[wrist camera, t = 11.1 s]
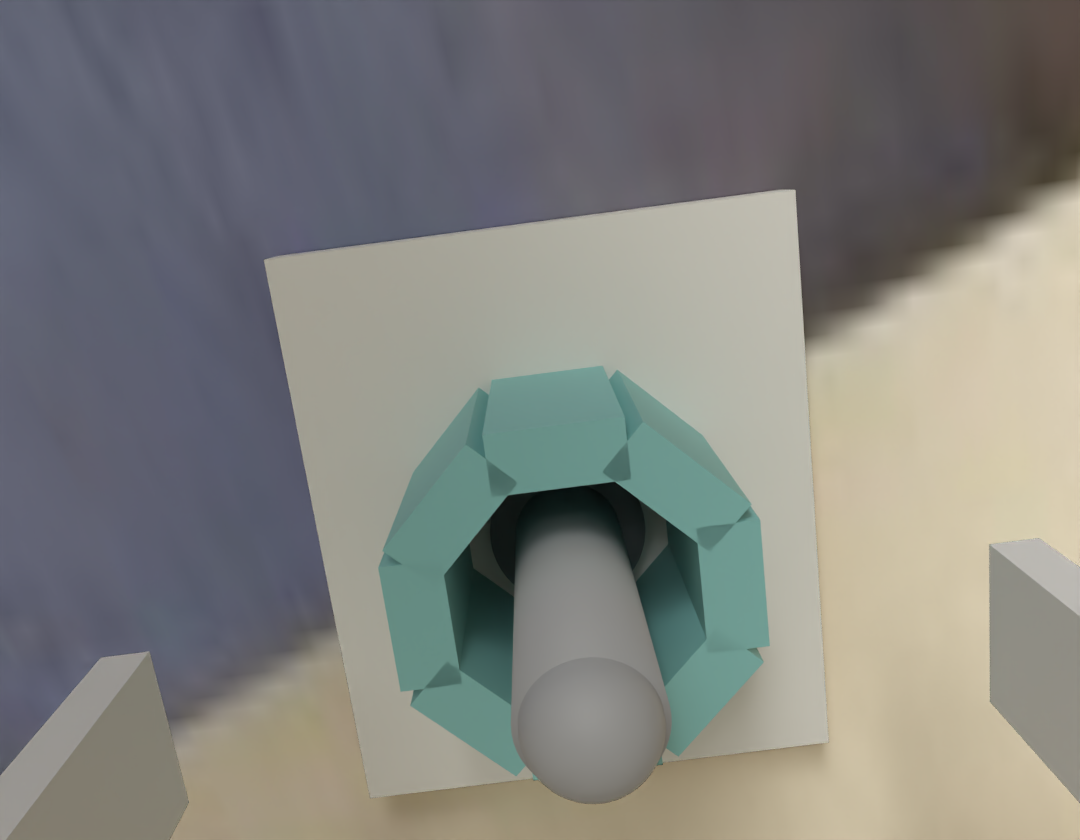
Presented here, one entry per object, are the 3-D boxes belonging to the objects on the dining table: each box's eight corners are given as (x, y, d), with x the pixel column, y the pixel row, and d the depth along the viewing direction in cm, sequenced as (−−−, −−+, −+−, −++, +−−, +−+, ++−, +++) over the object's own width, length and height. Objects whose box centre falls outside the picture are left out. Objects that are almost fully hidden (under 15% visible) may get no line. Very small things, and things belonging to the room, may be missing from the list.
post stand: (277, 256, 22) (39, 323, 11) (781, 189, 22) (1031, 192, 11) (377, 770, 26) (266, 1205, 15) (815, 717, 26) (1033, 1117, 15)
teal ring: (394, 392, 22) (356, 451, 17) (701, 353, 22) (751, 400, 17) (441, 669, 24) (419, 794, 19) (725, 634, 24) (777, 750, 19)
